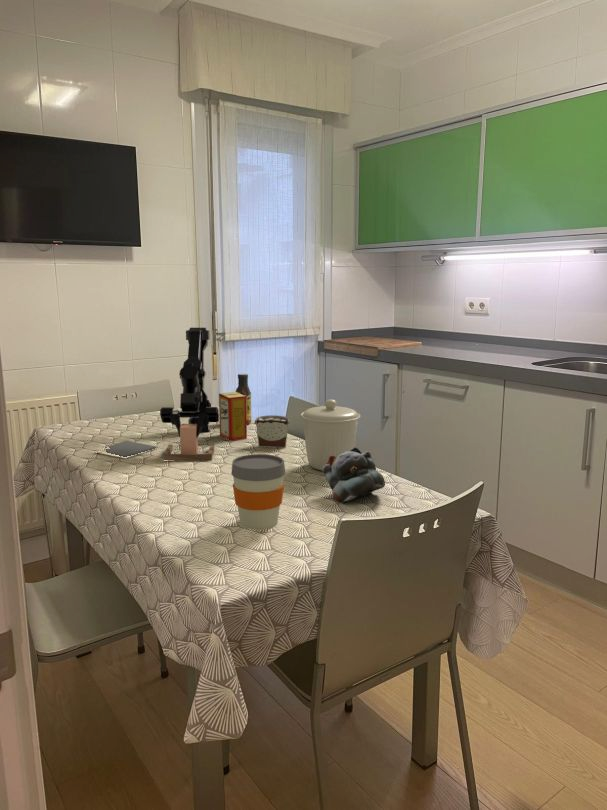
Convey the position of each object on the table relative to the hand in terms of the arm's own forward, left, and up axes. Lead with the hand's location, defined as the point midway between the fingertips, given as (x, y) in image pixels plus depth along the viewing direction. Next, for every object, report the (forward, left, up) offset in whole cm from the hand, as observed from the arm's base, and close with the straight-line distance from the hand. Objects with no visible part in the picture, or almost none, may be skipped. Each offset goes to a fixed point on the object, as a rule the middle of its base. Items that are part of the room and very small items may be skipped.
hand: (188, 436), depth 199 cm
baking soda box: (-23, -17, -7) cm, 29 cm away
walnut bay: (-1, -1, -7) cm, 7 cm away
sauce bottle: (-35, -35, -7) cm, 50 cm away
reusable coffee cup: (+3, +61, -7) cm, 61 cm away
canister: (-35, +31, -7) cm, 47 cm away
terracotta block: (-1, -1, -7) cm, 7 cm away
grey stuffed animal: (-26, +56, -7) cm, 62 cm away
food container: (-31, 0, -7) cm, 31 cm away
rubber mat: (+16, -16, -7) cm, 24 cm away
